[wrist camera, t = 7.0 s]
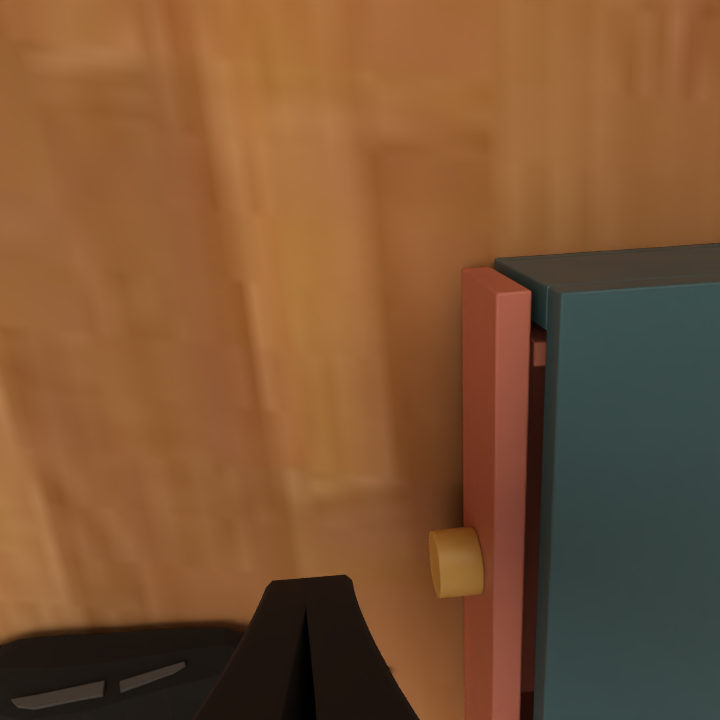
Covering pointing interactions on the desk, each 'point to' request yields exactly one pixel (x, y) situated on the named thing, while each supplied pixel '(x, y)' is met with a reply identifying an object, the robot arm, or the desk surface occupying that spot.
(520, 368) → the drawer
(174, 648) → the gaming mouse
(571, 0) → the desk surface
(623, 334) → the teal drawer box
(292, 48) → the desk surface
